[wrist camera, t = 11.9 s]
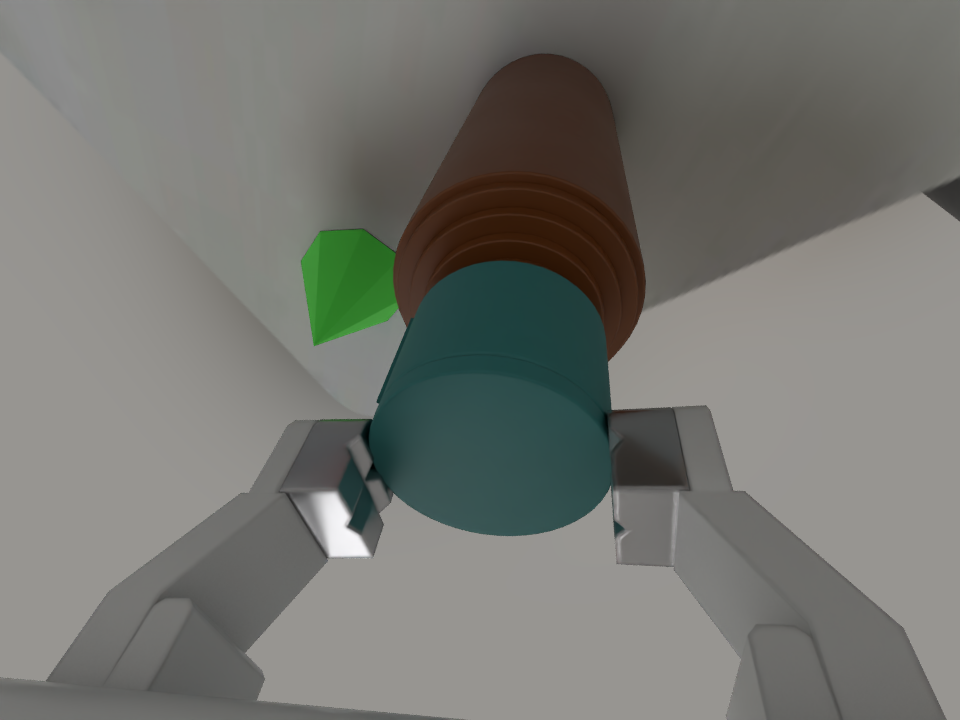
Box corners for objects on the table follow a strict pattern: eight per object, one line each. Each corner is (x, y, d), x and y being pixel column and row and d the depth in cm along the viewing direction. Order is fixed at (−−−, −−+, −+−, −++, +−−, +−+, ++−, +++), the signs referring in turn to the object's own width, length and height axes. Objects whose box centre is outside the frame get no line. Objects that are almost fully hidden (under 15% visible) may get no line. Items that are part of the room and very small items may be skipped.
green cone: (366, 206, 26) (321, 267, 21) (431, 302, 29) (404, 373, 24) (277, 253, 28) (220, 317, 24) (346, 337, 31) (307, 408, 27)
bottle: (644, 129, 22) (753, 446, 9) (541, 226, 25) (505, 566, 12) (540, 16, 20) (471, 199, 7) (443, 137, 23) (267, 424, 10)
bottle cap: (394, 380, 12) (347, 497, 10) (436, 228, 10) (389, 332, 7) (559, 433, 13) (556, 559, 10) (642, 299, 10) (665, 424, 8)
